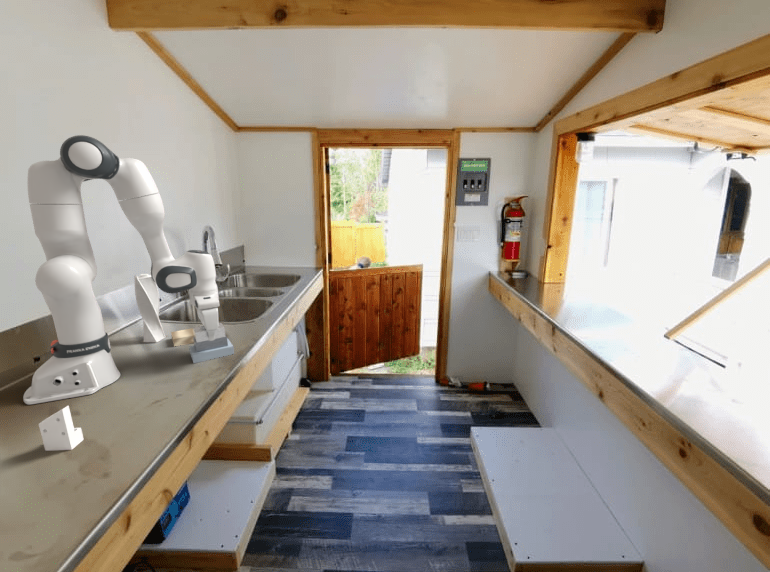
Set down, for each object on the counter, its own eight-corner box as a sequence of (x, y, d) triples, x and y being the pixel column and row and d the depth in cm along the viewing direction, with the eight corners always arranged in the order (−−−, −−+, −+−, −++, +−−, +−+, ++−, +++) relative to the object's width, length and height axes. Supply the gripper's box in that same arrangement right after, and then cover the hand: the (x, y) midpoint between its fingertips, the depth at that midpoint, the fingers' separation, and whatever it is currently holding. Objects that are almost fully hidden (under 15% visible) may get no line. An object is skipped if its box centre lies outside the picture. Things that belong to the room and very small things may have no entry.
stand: (193, 363, 128) (192, 355, 128) (190, 354, 136) (189, 346, 135) (234, 354, 135) (233, 346, 134) (228, 346, 142) (228, 338, 142)
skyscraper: (172, 336, 153) (161, 268, 147) (158, 344, 146) (146, 272, 139) (152, 336, 154) (140, 267, 147) (138, 344, 146) (124, 272, 140)
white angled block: (89, 439, 85) (62, 409, 83) (54, 460, 86) (26, 431, 84) (100, 429, 89) (74, 400, 87) (67, 449, 90) (40, 421, 88)
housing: (196, 352, 130) (193, 333, 128) (194, 346, 134) (191, 327, 133) (227, 345, 135) (225, 327, 133) (224, 340, 140) (222, 322, 138)
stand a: (174, 346, 142) (173, 339, 142) (172, 339, 150) (171, 332, 149) (212, 339, 149) (211, 332, 149) (208, 332, 157) (207, 325, 156)
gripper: (190, 292, 137) (195, 329, 140) (198, 306, 120) (204, 347, 124) (209, 290, 140) (213, 325, 144) (220, 302, 124) (224, 343, 127)
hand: (209, 335), depth 134 cm, fingers open, 8 cm apart
